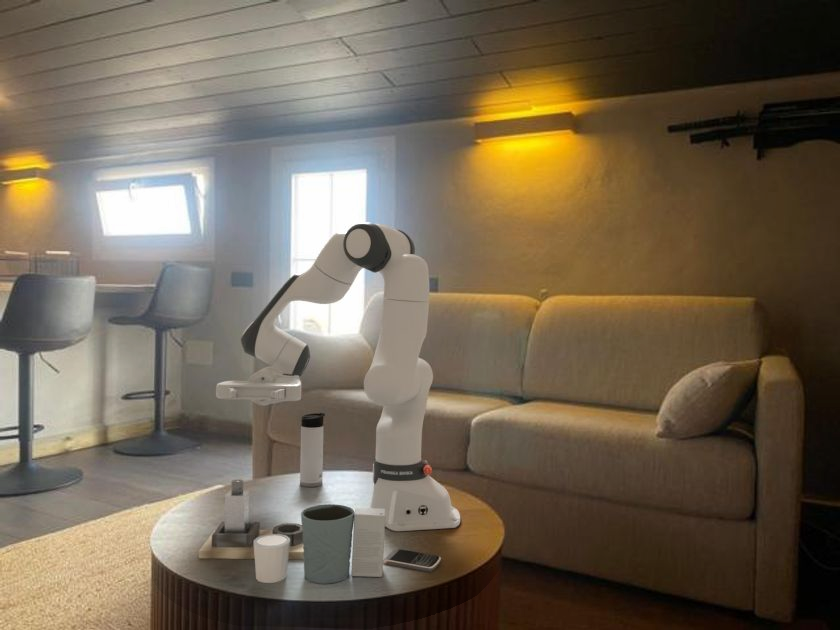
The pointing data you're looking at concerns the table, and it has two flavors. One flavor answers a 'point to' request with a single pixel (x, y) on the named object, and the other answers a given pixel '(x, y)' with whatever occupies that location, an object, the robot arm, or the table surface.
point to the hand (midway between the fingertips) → (253, 395)
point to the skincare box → (368, 542)
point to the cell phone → (412, 560)
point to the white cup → (271, 557)
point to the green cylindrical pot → (327, 542)
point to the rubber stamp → (237, 509)
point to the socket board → (249, 541)
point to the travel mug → (311, 450)
